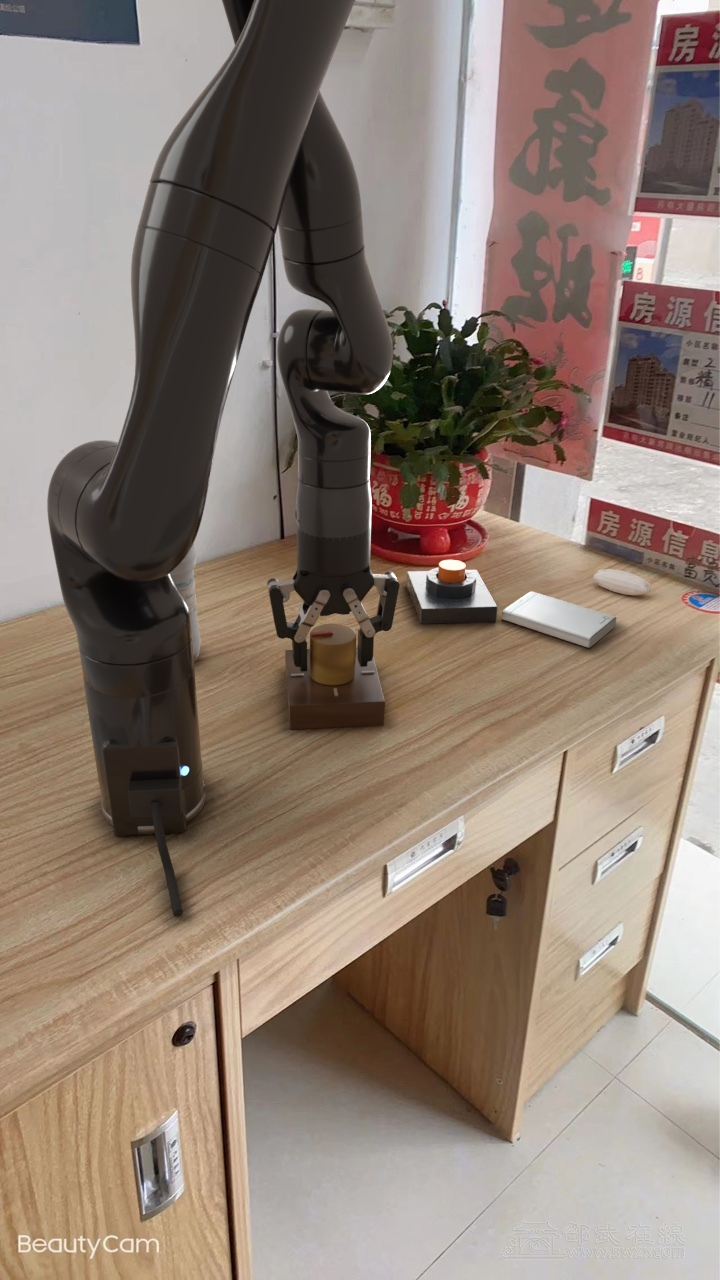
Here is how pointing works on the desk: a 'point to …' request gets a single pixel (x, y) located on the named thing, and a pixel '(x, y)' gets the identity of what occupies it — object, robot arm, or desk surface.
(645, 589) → the white oval capsule
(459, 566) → the orange push button
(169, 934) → the desk surface
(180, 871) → the desk surface
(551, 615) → the hard drive
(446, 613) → the push button base
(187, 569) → the bottle
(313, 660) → the dial
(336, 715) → the dial panel
